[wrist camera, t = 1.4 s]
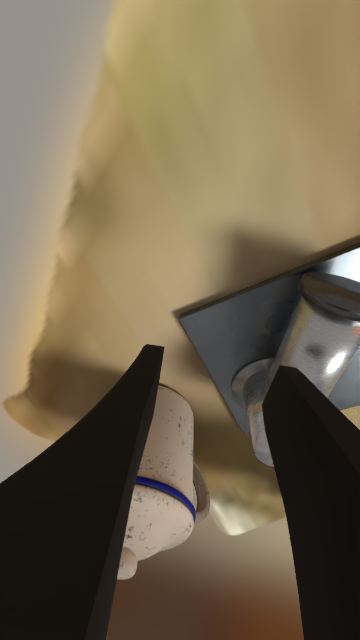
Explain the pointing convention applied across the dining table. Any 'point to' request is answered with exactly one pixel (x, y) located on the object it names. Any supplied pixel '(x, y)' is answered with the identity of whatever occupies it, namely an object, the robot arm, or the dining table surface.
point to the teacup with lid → (164, 485)
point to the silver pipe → (310, 345)
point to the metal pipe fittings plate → (263, 332)
